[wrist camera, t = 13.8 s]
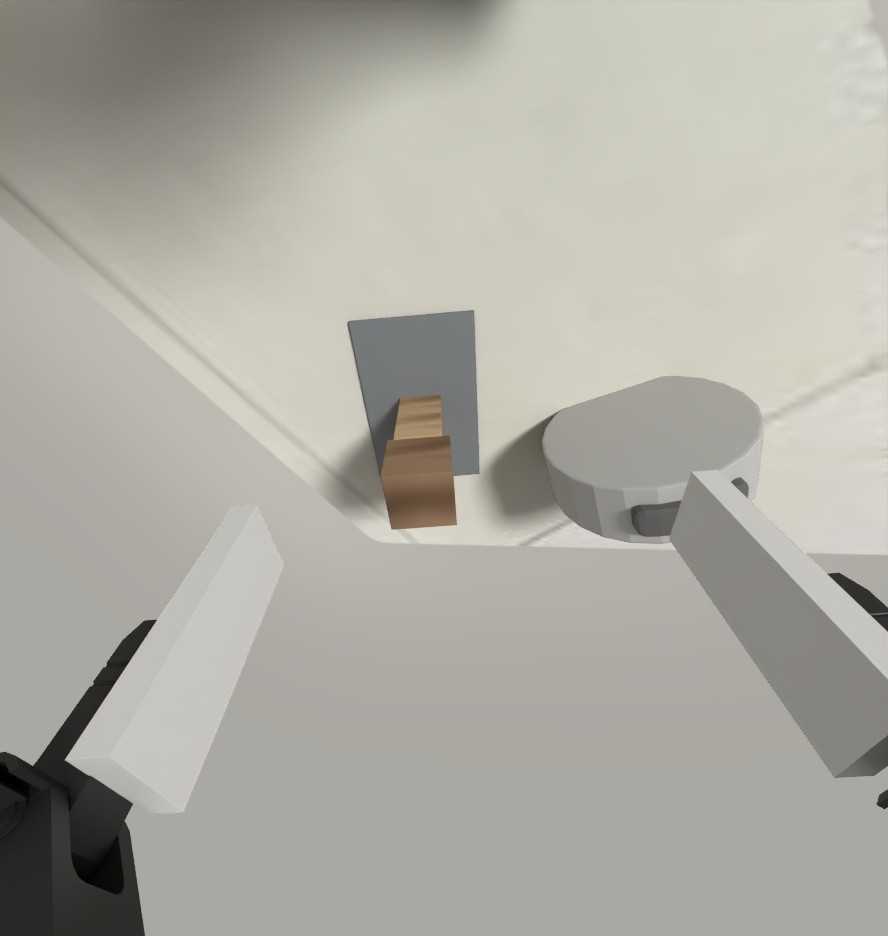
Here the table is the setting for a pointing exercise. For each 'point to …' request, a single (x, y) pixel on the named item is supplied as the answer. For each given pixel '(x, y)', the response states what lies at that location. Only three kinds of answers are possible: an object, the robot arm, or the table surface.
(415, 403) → the oak block lower
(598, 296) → the table surface
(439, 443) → the walnut cube
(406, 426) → the oak block upper
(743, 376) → the table surface
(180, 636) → the robot arm
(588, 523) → the alarm clock
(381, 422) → the slate mat
